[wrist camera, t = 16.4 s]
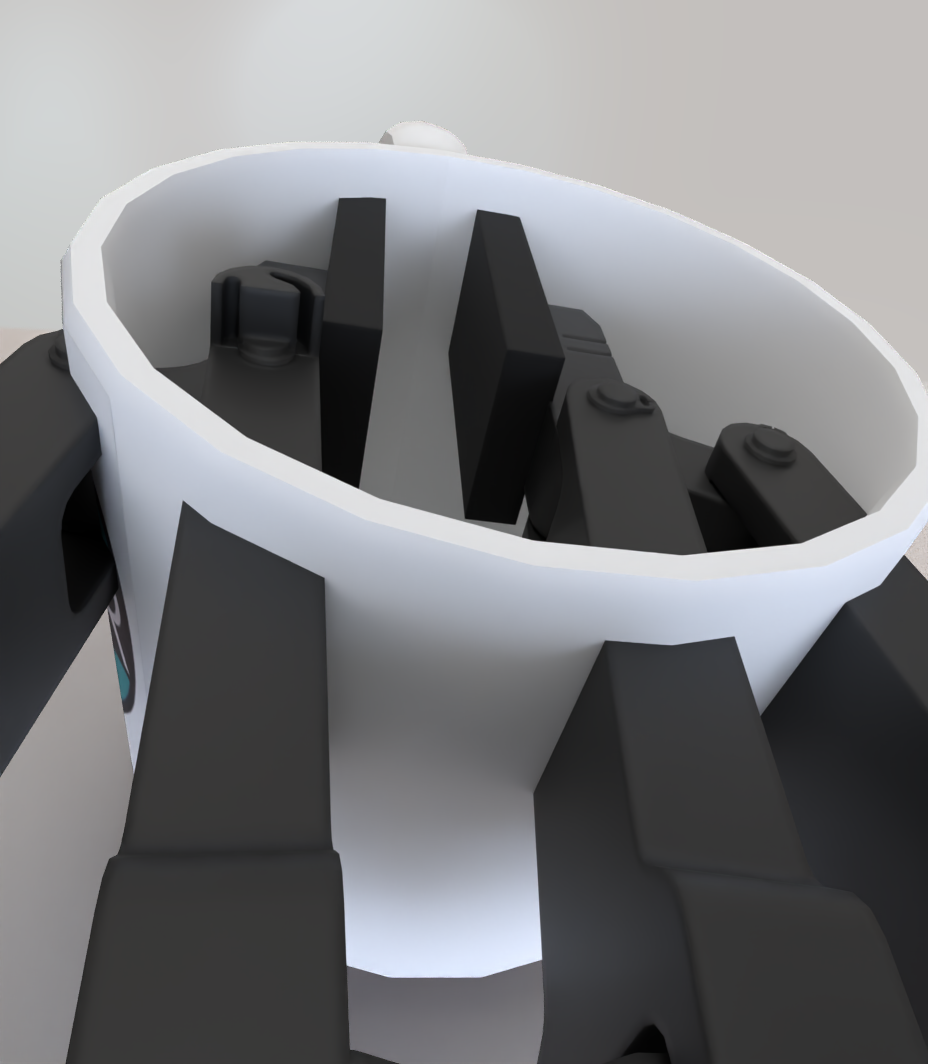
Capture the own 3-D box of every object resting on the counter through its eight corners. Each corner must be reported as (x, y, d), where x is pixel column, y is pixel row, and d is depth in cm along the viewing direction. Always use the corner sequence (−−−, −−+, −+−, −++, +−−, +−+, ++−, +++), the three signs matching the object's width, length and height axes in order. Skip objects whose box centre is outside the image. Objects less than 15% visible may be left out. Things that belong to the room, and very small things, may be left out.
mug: (806, 958, 13) (1181, 585, 8) (66, 1074, 10) (-55, 595, 5) (556, 451, 23) (658, 137, 18) (138, 433, 20) (120, 50, 15)
